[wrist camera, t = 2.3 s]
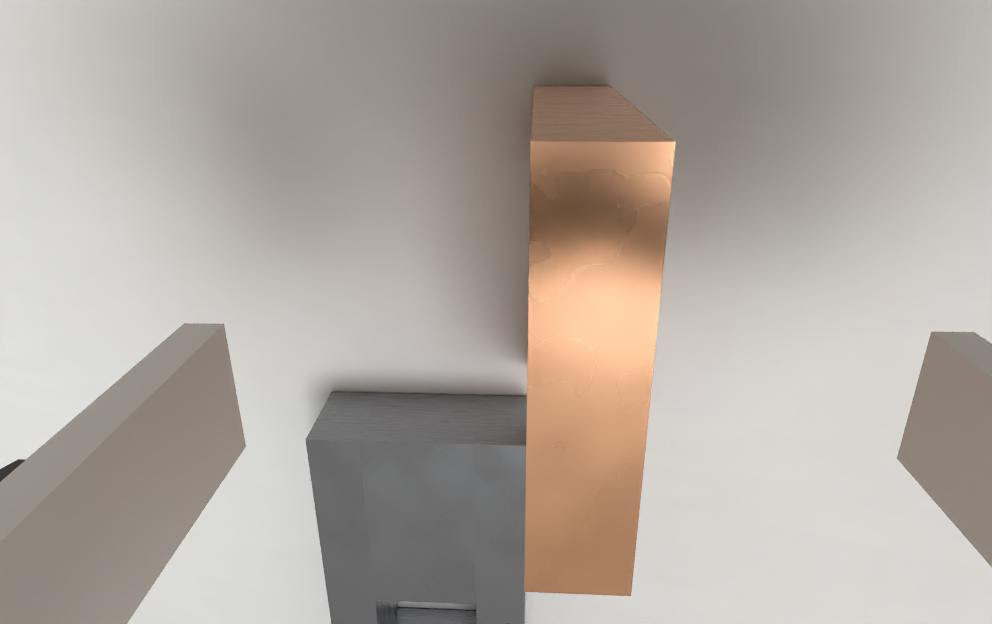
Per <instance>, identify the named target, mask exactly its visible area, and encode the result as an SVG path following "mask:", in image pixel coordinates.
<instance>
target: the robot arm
mask: <svg viewBox="0 0 992 624" xmlns="http://www.w3.org/2000/svg"><path fill="white" fill-rule="evenodd" d="M245 447H246V445H245V440H244V434H243V428H242V423H241V417H240V412H239V406H238V400H237V395H236V389H235V384H234V378H233V372H232V367H231V361H230V356H229V350H228V344H227V339H226V333H225V328H224V324H183V325H182V326H181V327H180V328H179V329H177V330H176V331H175V332H174V333H173V334H172V335H170V336H169V337H168V338H167V339H166V340H165V341H163V342H162V343H161V344H160V345H159V346H158V347H156V348H155V349H154V350H153V351H152V352H151V353H149V354H148V355H147V356H146V357H145V358H144V359H143V360H141V361H140V362H139V363H138V364H137V365H136V366H134V367H133V368H132V369H131V370H130V371H129V372H127V373H126V374H125V375H124V376H123V377H122V378H120V379H119V380H118V381H117V382H116V383H115V384H113V385H112V386H111V387H110V388H109V389H108V390H106V391H105V392H104V393H103V394H102V395H101V396H100V397H98V398H97V399H96V400H95V401H94V402H93V403H91V404H90V405H89V406H88V407H87V408H86V409H84V410H83V411H82V412H81V413H80V414H79V415H77V416H76V417H75V418H74V419H73V420H72V421H70V422H69V423H68V424H67V425H66V426H65V427H63V428H62V429H61V430H60V431H59V432H58V433H57V434H55V435H54V436H53V437H52V438H51V439H50V440H48V441H47V442H46V443H45V444H44V445H43V446H41V447H40V448H39V449H38V450H37V451H36V452H34V453H33V454H32V455H31V456H30V457H29V458H27V459H26V460H19V459H18V460H17V461H15V462H13V463H11V464H9V465H7V466H5V467H4V468H2V469H0V624H127V623H128V621H129V620H130V618H131V617H132V615H133V614H134V612H135V611H136V609H137V608H138V606H139V605H140V603H141V602H142V600H143V599H144V597H145V596H146V594H147V593H148V591H149V590H150V588H151V587H152V585H153V584H154V582H155V581H156V579H157V578H158V576H159V575H160V573H161V572H162V570H163V569H164V567H165V566H166V564H167V563H168V561H169V560H170V559H171V557H172V556H173V554H174V553H175V551H176V550H177V548H178V547H179V545H180V544H181V542H182V541H183V539H184V538H185V536H186V535H187V533H188V532H189V530H190V529H191V527H192V526H193V524H194V523H195V521H196V520H197V518H198V517H199V515H200V514H201V512H202V511H203V509H204V508H205V506H206V505H207V503H208V502H209V500H210V499H211V497H212V496H213V494H214V493H215V491H216V490H217V488H218V487H219V485H220V484H221V482H222V481H223V480H224V478H225V477H226V475H227V474H228V472H229V471H230V469H231V468H232V466H233V465H234V463H235V462H236V460H237V459H238V457H239V456H240V454H241V453H242V451H243V450H244V448H245ZM897 459H898V460H899V461H900V462H901V463H902V465H903V466H904V467H905V468H906V469H907V470H908V472H909V473H910V474H911V475H912V476H913V477H914V478H915V480H916V481H917V482H918V483H919V484H920V485H921V486H922V488H923V489H924V490H925V491H926V492H927V493H928V494H929V496H930V497H931V498H932V499H933V500H934V501H935V503H936V504H937V505H938V506H939V507H940V508H941V509H942V511H943V512H944V513H945V514H946V515H947V516H948V517H949V519H950V520H951V521H952V522H953V523H954V524H955V526H956V527H957V528H958V529H959V530H960V531H961V532H962V534H963V535H964V536H965V537H966V538H967V539H968V540H969V542H970V543H971V544H972V545H973V546H974V547H975V548H976V550H977V551H978V552H979V553H980V554H981V555H982V557H983V558H984V559H985V560H986V561H987V562H988V563H989V565H990V566H991V567H992V344H991V343H990V342H988V341H987V340H985V339H984V338H982V337H981V336H979V335H978V334H976V333H975V332H931V335H930V338H929V342H928V346H927V349H926V353H925V357H924V361H923V364H922V368H921V372H920V375H919V379H918V383H917V386H916V390H915V394H914V397H913V401H912V405H911V408H910V412H909V416H908V419H907V423H906V427H905V430H904V434H903V438H902V442H901V445H900V449H899V453H898V456H897Z"/></svg>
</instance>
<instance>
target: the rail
mask: <svg viewBox="0 0 992 624" xmlns="http://www.w3.org/2000/svg"><path fill="white" fill-rule="evenodd" d="M526 434H527V396H490V395H447V394H403V393H359V392H332V393H331V395H330V397H329V398H328V400H327V402H326V404H325V406H324V408H323V409H322V411H321V413H320V415H319V417H318V418H317V420H316V422H315V424H314V426H313V427H312V429H311V431H310V433H309V435H308V436H307V438H306V445H307V453H308V460H309V467H310V474H311V481H312V488H313V495H314V502H315V510H316V517H317V524H318V531H319V538H320V545H321V552H322V559H323V567H324V574H325V581H326V588H327V595H328V602H329V609H330V616H331V624H525V592H524V573H525V504H526ZM397 601H413V602H438V603H463V604H476V611H466V610H441V609H416V608H398V606H397Z"/></svg>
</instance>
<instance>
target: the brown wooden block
mask: <svg viewBox="0 0 992 624" xmlns="http://www.w3.org/2000/svg"><path fill="white" fill-rule="evenodd" d="M675 143H676V142H675V141H674V140H673V139H672V138H671V137H669V136H668V135H667V134H666V133H665V132H664V131H662V130H661V129H660V128H659V127H658V126H656V125H655V124H654V123H653V122H652V121H651V120H649V119H648V118H647V117H646V116H645V115H644V114H642V113H641V112H640V111H639V110H638V109H636V108H635V107H634V106H633V105H632V104H631V103H629V102H628V101H627V100H626V99H625V98H624V97H622V96H621V95H620V94H619V93H618V92H617V91H615V90H614V89H613V88H612V87H611V86H534V94H533V111H532V128H531V157H530V226H529V296H528V365H527V434H526V504H525V573H524V592H543V593H568V594H593V595H618V596H631V590H632V579H633V569H634V559H635V549H636V539H637V529H638V518H639V508H640V498H641V488H642V478H643V468H644V458H645V447H646V437H647V427H648V417H649V407H650V397H651V386H652V376H653V366H654V356H655V346H656V336H657V326H658V315H659V305H660V295H661V285H662V275H663V265H664V254H665V244H666V234H667V224H668V214H669V204H670V194H671V183H672V173H673V163H674V153H675Z"/></svg>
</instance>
